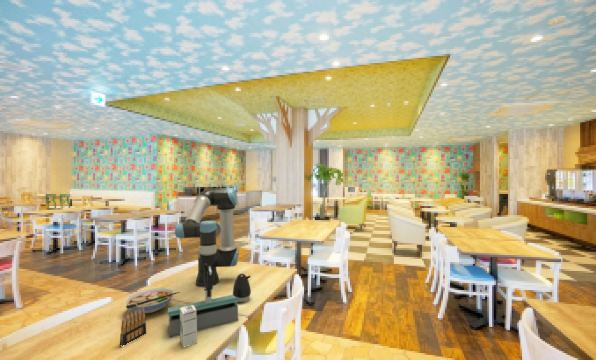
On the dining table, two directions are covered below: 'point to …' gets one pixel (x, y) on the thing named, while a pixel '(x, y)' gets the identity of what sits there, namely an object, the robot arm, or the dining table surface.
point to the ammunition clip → (133, 327)
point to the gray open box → (207, 318)
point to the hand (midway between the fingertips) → (208, 302)
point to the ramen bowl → (150, 300)
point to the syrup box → (188, 325)
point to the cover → (204, 304)
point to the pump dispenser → (242, 288)
